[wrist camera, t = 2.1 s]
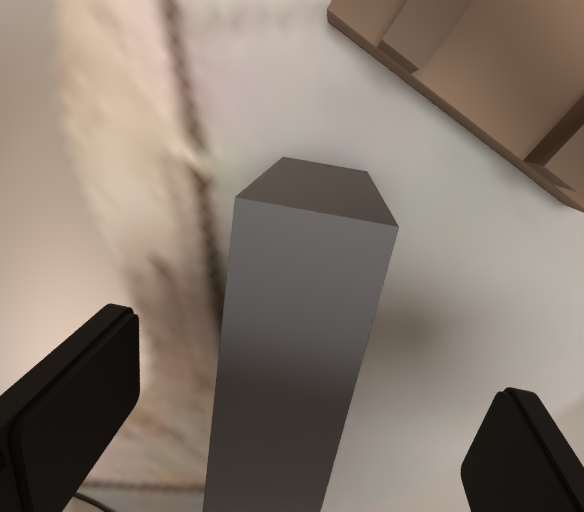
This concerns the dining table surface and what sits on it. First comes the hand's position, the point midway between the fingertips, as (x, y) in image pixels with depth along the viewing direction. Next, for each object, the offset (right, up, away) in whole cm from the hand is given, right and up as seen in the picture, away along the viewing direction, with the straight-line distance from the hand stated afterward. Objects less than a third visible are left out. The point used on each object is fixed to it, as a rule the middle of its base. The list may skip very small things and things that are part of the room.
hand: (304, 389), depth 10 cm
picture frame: (0, +1, +6) cm, 6 cm away
